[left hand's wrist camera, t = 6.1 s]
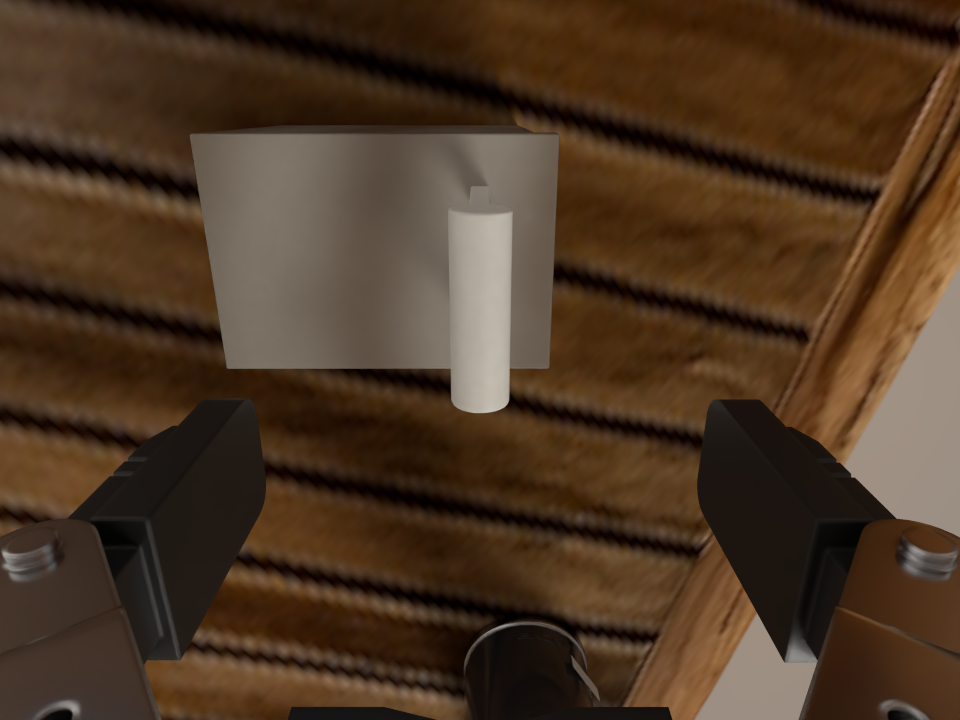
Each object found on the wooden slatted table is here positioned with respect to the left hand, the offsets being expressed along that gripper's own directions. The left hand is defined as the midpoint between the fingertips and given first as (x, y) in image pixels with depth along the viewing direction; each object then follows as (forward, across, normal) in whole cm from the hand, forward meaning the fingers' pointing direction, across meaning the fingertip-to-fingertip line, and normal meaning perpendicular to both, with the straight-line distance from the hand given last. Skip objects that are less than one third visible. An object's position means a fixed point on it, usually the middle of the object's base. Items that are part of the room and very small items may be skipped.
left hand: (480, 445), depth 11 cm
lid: (+16, +4, 0) cm, 17 cm away
